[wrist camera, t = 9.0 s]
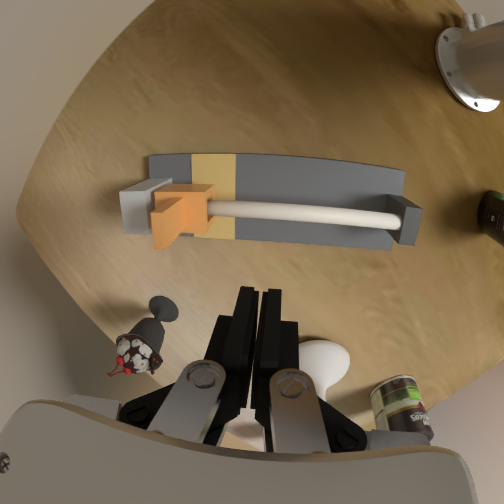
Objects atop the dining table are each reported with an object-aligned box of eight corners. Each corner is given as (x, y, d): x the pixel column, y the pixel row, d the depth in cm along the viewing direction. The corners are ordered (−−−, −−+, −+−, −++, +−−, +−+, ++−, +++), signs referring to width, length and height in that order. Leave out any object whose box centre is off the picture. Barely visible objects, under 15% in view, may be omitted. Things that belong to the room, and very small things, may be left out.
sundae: (136, 299, 40) (89, 365, 26) (166, 285, 38) (119, 356, 25) (161, 329, 42) (124, 399, 29) (191, 318, 40) (158, 395, 27)
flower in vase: (267, 366, 43) (252, 507, 20) (305, 322, 38) (312, 491, 16) (327, 388, 45) (336, 511, 22) (368, 350, 40) (401, 488, 17)
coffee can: (397, 368, 41) (417, 429, 29) (423, 381, 43) (442, 434, 30) (359, 398, 46) (368, 457, 33) (388, 408, 47) (399, 459, 34)
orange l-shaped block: (214, 184, 27) (186, 207, 19) (215, 220, 29) (189, 257, 21) (170, 183, 28) (128, 206, 20) (172, 218, 29) (134, 252, 21)
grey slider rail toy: (400, 169, 28) (434, 183, 20) (387, 245, 32) (412, 278, 25) (153, 154, 30) (117, 163, 23) (158, 230, 35) (128, 258, 27)
